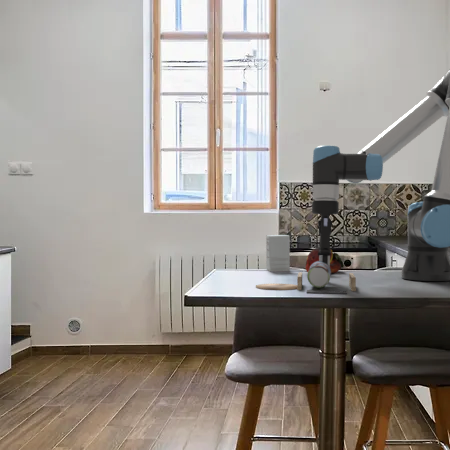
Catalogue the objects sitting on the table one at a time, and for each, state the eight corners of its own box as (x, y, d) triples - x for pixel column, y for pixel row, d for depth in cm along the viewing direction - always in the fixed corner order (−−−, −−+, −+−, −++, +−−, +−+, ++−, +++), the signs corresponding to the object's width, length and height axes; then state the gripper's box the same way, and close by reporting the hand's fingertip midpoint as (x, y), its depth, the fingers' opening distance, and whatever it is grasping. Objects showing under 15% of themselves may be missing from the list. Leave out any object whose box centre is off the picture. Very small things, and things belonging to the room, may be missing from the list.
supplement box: (286, 270, 210) (286, 234, 210) (290, 272, 203) (290, 235, 202) (265, 270, 210) (266, 234, 209) (268, 272, 202) (268, 235, 202)
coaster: (300, 285, 165) (300, 283, 165) (299, 290, 153) (299, 289, 153) (257, 284, 167) (257, 283, 167) (253, 289, 155) (253, 288, 155)
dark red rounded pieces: (323, 294, 201) (293, 272, 194) (331, 263, 207) (303, 241, 200) (351, 290, 192) (321, 267, 185) (359, 257, 198) (330, 234, 191)
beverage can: (334, 266, 165) (337, 266, 153) (323, 289, 165) (325, 292, 153) (313, 256, 166) (315, 256, 154) (302, 280, 166) (303, 281, 154)
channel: (352, 285, 164) (352, 273, 164) (355, 291, 152) (355, 277, 152) (298, 284, 166) (298, 272, 166) (297, 289, 154) (297, 276, 154)
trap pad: (346, 291, 151) (346, 290, 151) (347, 294, 147) (347, 292, 147) (306, 291, 152) (306, 290, 152) (306, 293, 148) (306, 292, 148)
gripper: (312, 201, 180) (310, 274, 180) (312, 198, 158) (310, 280, 158) (336, 202, 179) (335, 274, 179) (340, 198, 156) (339, 281, 156)
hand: (324, 277), depth 168 cm, fingers open, 10 cm apart
